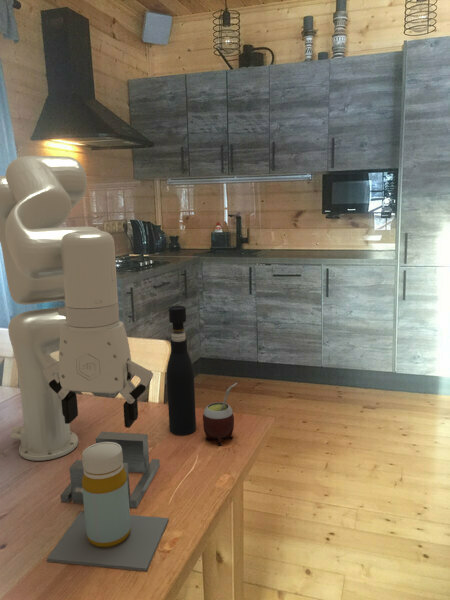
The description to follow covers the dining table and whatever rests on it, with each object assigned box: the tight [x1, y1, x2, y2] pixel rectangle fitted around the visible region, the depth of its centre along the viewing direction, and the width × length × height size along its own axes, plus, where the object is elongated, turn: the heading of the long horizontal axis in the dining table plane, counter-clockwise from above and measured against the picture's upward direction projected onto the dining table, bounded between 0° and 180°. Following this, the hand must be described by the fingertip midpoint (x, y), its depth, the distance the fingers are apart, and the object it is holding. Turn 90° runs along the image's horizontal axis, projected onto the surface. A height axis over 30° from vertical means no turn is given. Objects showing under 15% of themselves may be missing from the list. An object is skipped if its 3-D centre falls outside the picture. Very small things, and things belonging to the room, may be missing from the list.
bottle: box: [81, 442, 131, 548], centre depth 80 cm, size 7×7×15 cm
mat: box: [46, 510, 169, 572], centre depth 81 cm, size 16×12×1 cm
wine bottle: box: [166, 305, 197, 437], centre depth 116 cm, size 6×6×30 cm
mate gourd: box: [202, 381, 239, 447], centre depth 112 cm, size 8×8×15 cm
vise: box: [60, 431, 161, 509], centre depth 96 cm, size 14×17×7 cm
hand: (100, 421), depth 77 cm, fingers open, 9 cm apart
